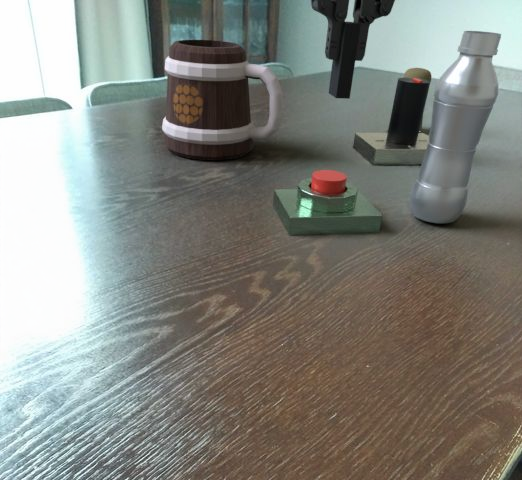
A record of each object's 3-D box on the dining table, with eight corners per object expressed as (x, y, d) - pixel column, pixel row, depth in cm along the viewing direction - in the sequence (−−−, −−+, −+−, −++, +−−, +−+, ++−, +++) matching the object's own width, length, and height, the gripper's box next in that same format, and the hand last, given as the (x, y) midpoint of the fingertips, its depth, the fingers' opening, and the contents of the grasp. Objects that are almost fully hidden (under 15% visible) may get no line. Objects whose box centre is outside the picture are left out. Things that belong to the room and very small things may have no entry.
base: (420, 147, 90) (424, 132, 88) (446, 164, 82) (451, 148, 80) (352, 147, 87) (355, 131, 86) (373, 165, 80) (376, 147, 78)
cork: (424, 135, 97) (439, 71, 90) (394, 133, 97) (407, 70, 90) (416, 127, 102) (430, 66, 95) (388, 126, 102) (399, 65, 95)
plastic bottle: (463, 232, 60) (525, 38, 47) (406, 226, 60) (453, 32, 48) (455, 213, 65) (510, 32, 53) (403, 207, 65) (445, 27, 53)
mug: (145, 152, 78) (135, 42, 69) (189, 132, 90) (186, 35, 81) (262, 173, 73) (268, 57, 64) (293, 148, 85) (302, 47, 76)
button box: (354, 204, 65) (359, 174, 63) (379, 233, 58) (386, 199, 56) (272, 206, 63) (274, 174, 61) (288, 235, 56) (291, 201, 54)
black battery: (382, 136, 85) (393, 74, 79) (409, 136, 85) (422, 75, 80) (393, 144, 81) (406, 80, 75) (421, 144, 82) (436, 81, 76)
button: (338, 184, 60) (340, 169, 59) (349, 195, 57) (351, 180, 56) (307, 184, 60) (308, 169, 59) (316, 196, 57) (317, 181, 56)
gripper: (317, -274, 34) (287, 101, 48) (487, -245, 36) (410, 104, 51) (292, -239, 40) (271, 87, 54) (439, -216, 42) (383, 90, 56)
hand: (338, 95), depth 52 cm, fingers closed
